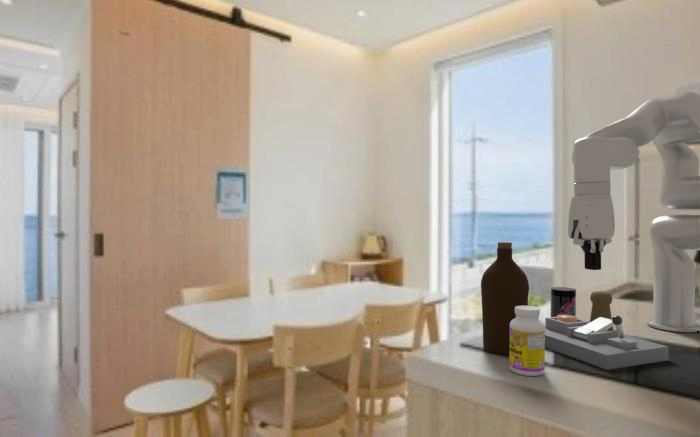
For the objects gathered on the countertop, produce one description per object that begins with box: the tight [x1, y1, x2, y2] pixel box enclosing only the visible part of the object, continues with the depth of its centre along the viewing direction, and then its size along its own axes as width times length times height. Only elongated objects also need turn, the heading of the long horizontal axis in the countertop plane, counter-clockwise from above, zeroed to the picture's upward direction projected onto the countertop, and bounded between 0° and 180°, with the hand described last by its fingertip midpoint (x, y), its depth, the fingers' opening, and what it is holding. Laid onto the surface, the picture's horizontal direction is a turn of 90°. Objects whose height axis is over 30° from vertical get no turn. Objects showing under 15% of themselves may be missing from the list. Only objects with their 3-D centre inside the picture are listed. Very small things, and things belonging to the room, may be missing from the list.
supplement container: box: [550, 286, 577, 317], centre depth 133 cm, size 7×7×10 cm
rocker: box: [573, 317, 615, 340], centre depth 107 cm, size 9×4×1 cm, turn 111°
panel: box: [544, 316, 670, 371], centre depth 108 cm, size 18×24×6 cm
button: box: [557, 315, 578, 323], centre depth 115 cm, size 4×4×3 cm
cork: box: [589, 290, 614, 331], centre depth 124 cm, size 6×6×11 cm
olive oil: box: [480, 241, 530, 356], centre depth 108 cm, size 11×11×25 cm
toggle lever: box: [612, 315, 625, 339], centre depth 101 cm, size 2×2×5 cm
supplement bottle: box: [508, 305, 546, 377], centre depth 93 cm, size 7×7×13 cm
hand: (592, 269), depth 108 cm, fingers closed
